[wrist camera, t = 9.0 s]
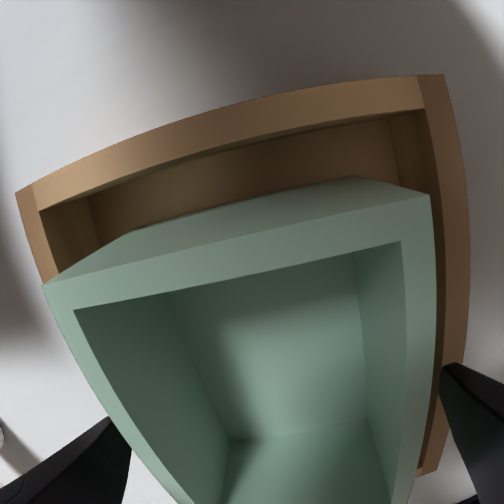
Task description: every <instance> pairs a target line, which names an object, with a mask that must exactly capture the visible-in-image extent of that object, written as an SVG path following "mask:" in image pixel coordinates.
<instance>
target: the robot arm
mask: <svg viewBox="0 0 504 504" xmlns="http://www.w3.org/2000/svg"><path fill="white" fill-rule="evenodd" d="M438 393H439V397H440V400H441V403H442V406H443V408H444V411H445V414H446V417H447V420H448V423H449V426H450V429H451V432H452V435H453V438H454V441H455V443H456V446H457V448H458V450H459V452H460V455H461V457H462V459H463V461H464V464H465V466H466V468H467V470H468V473H469V475H470V477H471V480H472V482H473V485H474V487H475V490H476V492H477V496H475V497H473V498H471V499H469V500H467V501H465V502H462V503H460V504H504V384H502V383H500V382H498V381H496V380H494V379H492V378H490V377H487V376H485V375H483V374H481V373H479V372H477V371H475V370H472V369H470V368H468V367H466V366H464V365H462V364H460V363H457V362H452V363H450V364H447V365H444V366H443V367H442V368H441V372H440V380H439V387H438ZM131 452H132V448H131V447H130V445H129V444H128V443H127V441H126V440H125V438H124V437H123V436H122V434H121V433H120V431H119V430H118V429H117V427H116V426H115V424H114V423H113V421H112V420H111V418H110V417H109V416H107V417H105V418H104V419H103V420H101V421H100V422H98V423H97V424H96V425H94V426H93V427H91V428H90V429H89V430H87V431H86V432H84V433H83V434H82V435H80V436H79V437H77V438H76V439H75V440H73V441H72V442H70V443H69V444H67V445H66V446H65V447H63V448H62V449H60V450H59V451H57V452H56V453H54V454H53V455H52V456H50V457H49V458H47V459H46V460H44V461H43V462H41V463H40V464H38V465H37V466H35V467H34V468H32V469H31V470H29V471H28V472H27V473H25V474H23V475H22V476H20V477H19V478H17V479H15V480H14V481H12V482H11V483H9V484H7V485H6V486H4V487H2V488H0V504H122V500H123V496H124V492H125V488H126V484H127V478H128V472H129V465H130V458H131Z"/></svg>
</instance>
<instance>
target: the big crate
mask: <svg viewBox="0 0 504 504" xmlns="http://www.w3.org/2000/svg"><path fill="white" fill-rule="evenodd" d="M348 175H357V176H361V177H365V178H369V179H373V180H377V181H381V182H385V183H389V184H393V185H396V186H400V187H404V188H407V189H411V190H415V191H418V192H422V193H425V194H428V195H430V202H431V211H432V220H433V231H434V244H435V260H436V337H435V353H434V366H433V376H432V386H431V394H430V401H429V408H428V415H427V421H426V427H425V432H424V438H423V443H422V448H421V452H420V457H419V461H418V466H417V470H416V474H415V478H416V477H419V476H422V475H425V474H428V473H430V472H433V471H436V470H437V467H438V464H439V461H440V458H441V455H442V451H443V448H444V445H445V441H446V438H447V434H448V430H449V427H450V426H449V423H448V420H447V417H446V414H445V411H444V408H443V406H442V403H441V400H440V397H439V393H438V387H439V380H440V372H441V368H442V367H443V366H444V365H447V364H450V363H452V362H457V363H460V364H462V363H463V356H464V349H465V341H466V332H467V321H468V308H469V290H470V235H469V216H468V203H467V193H466V184H465V175H464V168H463V161H462V155H461V149H460V143H459V138H458V132H457V127H456V123H455V118H454V114H453V109H452V105H451V101H450V97H449V93H448V89H447V86H446V82H445V79H444V75H443V74H437V75H412V76H397V77H385V78H374V79H365V80H357V81H349V82H342V83H335V84H328V85H322V86H316V87H310V88H305V89H299V90H294V91H289V92H284V93H279V94H275V95H270V96H266V97H261V98H257V99H253V100H249V101H245V102H241V103H237V104H233V105H230V106H226V107H222V108H219V109H215V110H212V111H208V112H205V113H202V114H198V115H195V116H192V117H189V118H185V119H182V120H179V121H176V122H173V123H170V124H167V125H164V126H162V127H159V128H156V129H153V130H150V131H148V132H145V133H142V134H140V135H137V136H134V137H132V138H129V139H127V140H124V141H122V142H119V143H117V144H114V145H112V146H109V147H107V148H105V149H102V150H100V151H98V152H95V153H93V154H91V155H89V156H86V157H84V158H82V159H80V160H78V161H76V162H73V163H71V164H69V165H67V166H65V167H63V168H61V169H59V170H57V171H55V172H53V173H51V174H49V175H47V176H45V177H43V178H41V179H39V180H37V181H36V182H34V183H32V184H30V185H28V186H26V187H25V188H23V189H21V190H19V191H17V192H16V193H15V196H16V200H17V204H18V208H19V211H20V215H21V219H22V222H23V226H24V229H25V232H26V236H27V239H28V242H29V245H30V248H31V251H32V254H33V257H34V260H35V263H36V266H37V268H38V271H39V274H40V276H41V279H42V282H43V284H45V283H46V282H48V281H49V280H51V279H52V278H54V277H55V276H57V275H58V274H60V273H62V272H63V271H65V270H66V269H68V268H70V267H71V266H73V265H74V264H76V263H78V262H79V261H81V260H82V259H84V258H86V257H87V256H89V255H91V254H92V253H94V252H96V251H97V250H99V249H101V248H102V247H104V246H106V245H107V244H109V243H111V242H113V241H114V240H116V239H118V238H119V237H121V236H123V235H125V234H126V233H128V232H130V231H132V230H133V229H135V228H137V227H141V226H144V225H148V224H151V223H155V222H158V221H162V220H165V219H169V218H173V217H176V216H180V215H183V214H187V213H191V212H195V211H198V210H202V209H206V208H210V207H214V206H217V205H221V204H225V203H229V202H233V201H237V200H241V199H245V198H249V197H254V196H258V195H262V194H266V193H270V192H275V191H279V190H283V189H288V188H292V187H296V186H301V185H306V184H310V183H315V182H319V181H324V180H329V179H334V178H338V177H343V176H348Z"/></svg>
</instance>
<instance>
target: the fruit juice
mask: <svg viewBox="0 0 504 504" xmlns="http://www.w3.org/2000/svg"><path fill="white" fill-rule="evenodd" d="M3 442H4V435H3V432H2V429H1V427H0V449H1V447H2V445H3Z"/></svg>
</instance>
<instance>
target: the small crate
mask: <svg viewBox="0 0 504 504" xmlns="http://www.w3.org/2000/svg"><path fill="white" fill-rule="evenodd" d="M41 287H42V290H43V292H44V295H45V297H46V299H47V302H48V304H49V306H50V309H51V311H52V313H53V315H54V318H55V320H56V322H57V324H58V326H59V328H60V331H61V333H62V335H63V337H64V339H65V341H66V343H67V345H68V347H69V349H70V351H71V353H72V354H73V356H74V358H75V360H76V362H77V364H78V366H79V367H80V369H81V371H82V373H83V375H84V376H85V378H86V380H87V381H88V383H89V385H90V387H91V388H92V390H93V392H94V393H95V395H96V397H97V398H98V400H99V401H100V403H101V404H102V406H103V408H104V409H105V411H106V412H107V414H108V415H109V417H110V418H111V420H112V421H113V423H114V424H115V426H116V427H117V429H118V430H119V431H120V433H121V434H122V436H123V437H124V438H125V440H126V441H127V443H128V444H129V445H130V447H131V448H132V449H133V451H134V452H135V453H136V455H137V456H138V457H139V458H140V460H141V461H142V462H143V464H144V465H145V466H146V467H147V469H148V470H149V471H150V472H151V473H152V475H153V476H154V477H155V478H156V479H157V481H158V482H159V483H160V484H161V485H162V486H163V487H164V489H165V490H166V491H167V492H168V493H169V494H170V495H171V496H172V498H173V499H174V500H175V501H176V502H177V503H178V504H407V503H408V499H409V496H410V492H411V489H412V485H413V482H414V478H415V474H416V470H417V466H418V461H419V457H420V452H421V448H422V443H423V438H424V432H425V427H426V421H427V415H428V408H429V401H430V394H431V386H432V376H433V366H434V353H435V337H436V260H435V244H434V231H433V220H432V211H431V202H430V195H428V194H425V193H422V192H418V191H415V190H411V189H407V188H404V187H400V186H396V185H393V184H389V183H385V182H381V181H377V180H373V179H369V178H365V177H361V176H357V175H348V176H343V177H338V178H334V179H329V180H324V181H319V182H315V183H310V184H306V185H301V186H296V187H292V188H288V189H283V190H279V191H275V192H270V193H266V194H262V195H258V196H254V197H249V198H245V199H241V200H237V201H233V202H229V203H225V204H221V205H217V206H214V207H210V208H206V209H202V210H198V211H195V212H191V213H187V214H183V215H180V216H176V217H173V218H169V219H165V220H162V221H158V222H155V223H151V224H148V225H144V226H141V227H137V228H135V229H133V230H132V231H130V232H128V233H126V234H125V235H123V236H121V237H119V238H118V239H116V240H114V241H113V242H111V243H109V244H107V245H106V246H104V247H102V248H101V249H99V250H97V251H96V252H94V253H92V254H91V255H89V256H87V257H86V258H84V259H82V260H81V261H79V262H78V263H76V264H74V265H73V266H71V267H70V268H68V269H66V270H65V271H63V272H62V273H60V274H58V275H57V276H55V277H54V278H52V279H51V280H49V281H48V282H46V283H45V284H43V285H42V286H41Z"/></svg>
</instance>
